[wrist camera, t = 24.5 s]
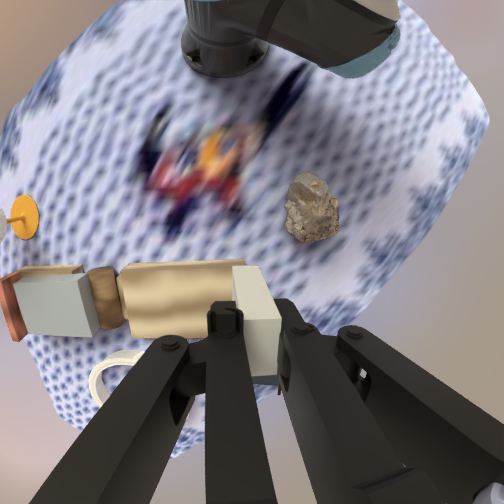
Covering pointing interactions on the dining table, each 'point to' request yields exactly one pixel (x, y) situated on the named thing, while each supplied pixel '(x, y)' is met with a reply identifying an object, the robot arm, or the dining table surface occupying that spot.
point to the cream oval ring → (113, 359)
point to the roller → (106, 297)
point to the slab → (57, 305)
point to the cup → (21, 218)
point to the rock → (311, 209)
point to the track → (145, 295)
